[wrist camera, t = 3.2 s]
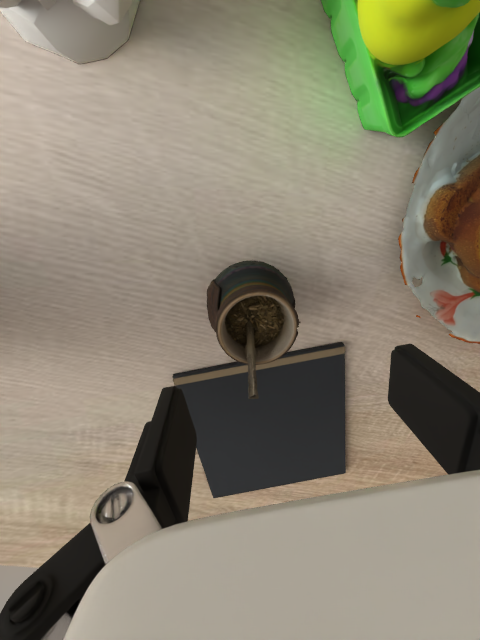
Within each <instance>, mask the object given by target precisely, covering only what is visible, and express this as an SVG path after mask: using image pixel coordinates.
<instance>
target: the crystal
mask: <svg viewBox="0 0 480 640" xmlns="http://www.w3.org/2000/svg"><path fill="white" fill-rule="evenodd" d="M139 2H140V0H0V11H1V13H2V14H3V15H4V16H5V18H6V19H7V20H8V21H9V22H10V24H11V25H12V26H13V27H14V29H15V30H16V31H17V32H18V33H19V35H20V36H21V37H22V38H23V40H24V41H25V42H28V43H30V44H33V45H35V46H38V47H40V48H43V49H45V50H47V51H50V52H52V53H55V54H57V55H60V56H62V57H64V58H67V59H69V60H71V61H73V62H75V63H78V64H83V63H87V62H92V61H97V60H102V59H106V58H108V57H109V56H110V55H111V54H112V53H113V52H115V51H116V50H117V49H118V48H119V47H120V46H122V45H123V44H124V43H125V42H126V41H128V39H129V36H130V32H131V28H132V25H133V21H134V18H135V15H136V12H137V8H138V5H139Z"/></svg>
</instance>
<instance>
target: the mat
mask: <svg viewBox="0 0 480 640" xmlns="http://www.w3.org/2000/svg"><path fill="white" fill-rule="evenodd" d="M248 375H249V374H248V364H244V363H241V362H234V363H229V364H224V365H219V366H213V367H208V368H203V369H197V370H192V371H187V372H182V373H176V374H173V382H174V385H175V386H177V388H178V389H179V388H181V389H182V391H183V394H184V397H185V400H186V403H187V406H188V409H189V412H190V415H191V418H192V422H193V425H194V428H195V431H196V435H197V443H196V448H197V451H198V454H199V457H200V460H201V463H202V466H203V469H204V471H205V474H206V477H207V480H208V483H209V486H210V489H211V492H212V495H213V498H218V497H223V496H228V495H233V494H239V493H244V492H249V491H254V490H260V489H265V488H270V487H275V486H281V485H286V484H291V483H296V482H302V481H307V480H312V479H317V478H323V477H328V476H333V475H339V474H344V473H346V466H345V345H344V344H343V342H340V343H335V344H330V345H324V346H319V347H314V348H308V349H303V350H298V351H293V352H287V353H285V354H284V355H283V356H282V357H281V358H279V359H277V360H275V361H273V362H270V363H266V364H260V365H256V377H257V391H258V397H259V398H258V399H248V397H249V395H248V387H249V384H248Z"/></svg>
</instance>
